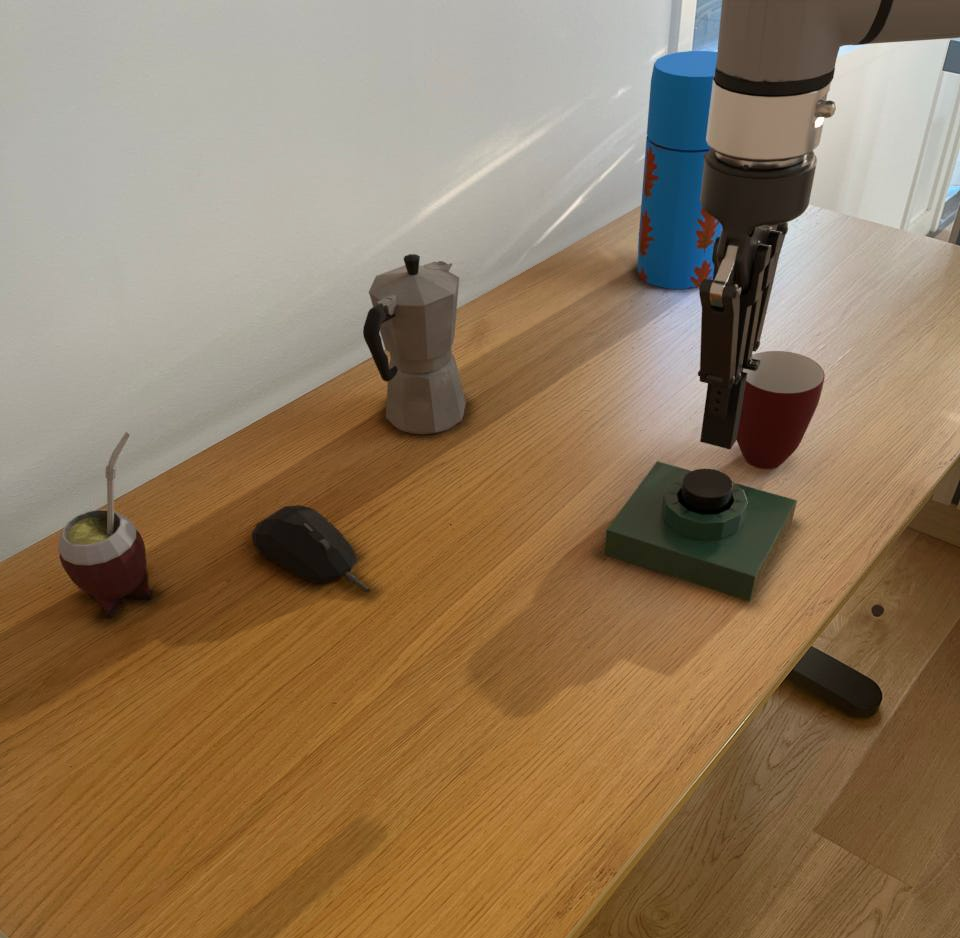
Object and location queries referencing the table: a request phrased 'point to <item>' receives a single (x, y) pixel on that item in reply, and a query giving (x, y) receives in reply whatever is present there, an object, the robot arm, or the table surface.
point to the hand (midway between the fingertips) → (718, 441)
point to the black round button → (706, 491)
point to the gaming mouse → (306, 545)
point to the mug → (777, 406)
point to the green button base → (700, 533)
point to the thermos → (677, 174)
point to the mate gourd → (106, 551)
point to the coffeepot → (417, 345)
